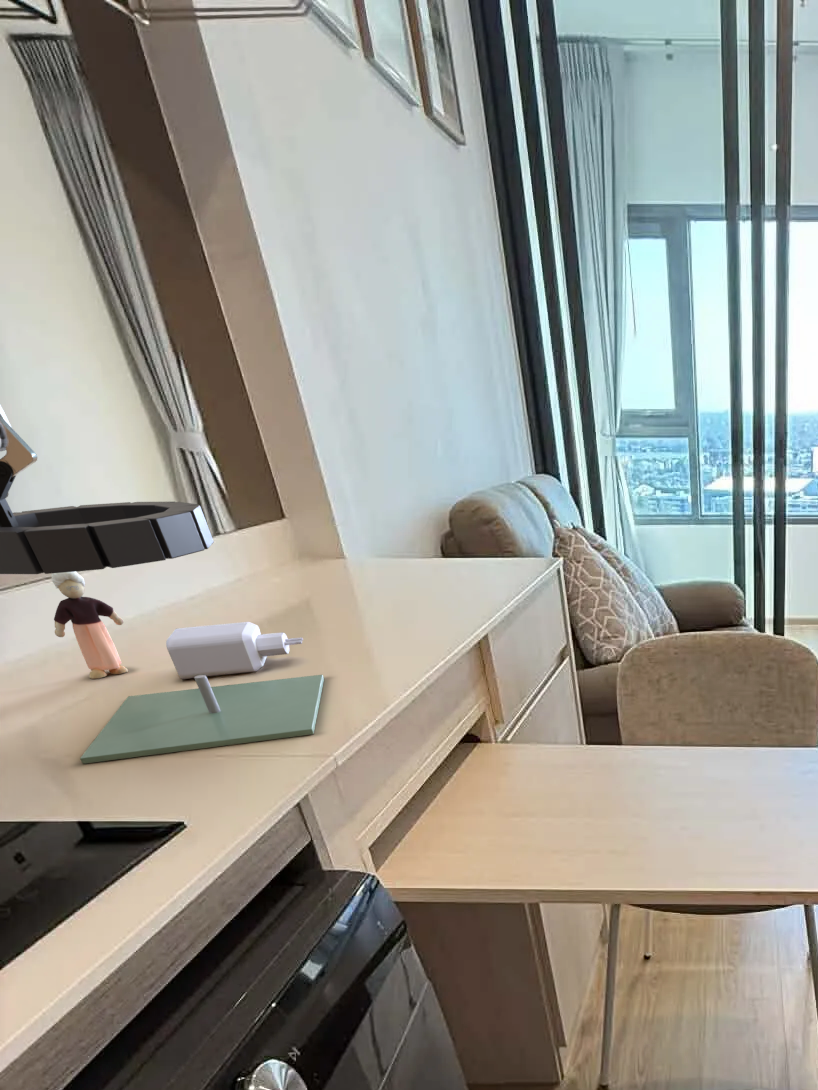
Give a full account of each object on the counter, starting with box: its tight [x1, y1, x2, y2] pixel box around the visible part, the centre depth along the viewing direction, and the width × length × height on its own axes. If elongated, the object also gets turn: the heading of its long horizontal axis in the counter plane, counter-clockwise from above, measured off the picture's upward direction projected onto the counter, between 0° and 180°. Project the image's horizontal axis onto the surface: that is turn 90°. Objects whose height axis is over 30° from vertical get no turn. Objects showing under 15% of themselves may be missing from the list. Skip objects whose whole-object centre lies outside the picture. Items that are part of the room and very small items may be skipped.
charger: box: [165, 621, 304, 680], centre depth 112 cm, size 5×9×15 cm
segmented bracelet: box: [0, 501, 215, 575], centre depth 74 cm, size 18×18×3 cm
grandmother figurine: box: [50, 571, 129, 680], centre depth 108 cm, size 8×4×13 cm, turn 148°
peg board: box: [79, 674, 325, 765], centre depth 96 cm, size 22×22×4 cm
